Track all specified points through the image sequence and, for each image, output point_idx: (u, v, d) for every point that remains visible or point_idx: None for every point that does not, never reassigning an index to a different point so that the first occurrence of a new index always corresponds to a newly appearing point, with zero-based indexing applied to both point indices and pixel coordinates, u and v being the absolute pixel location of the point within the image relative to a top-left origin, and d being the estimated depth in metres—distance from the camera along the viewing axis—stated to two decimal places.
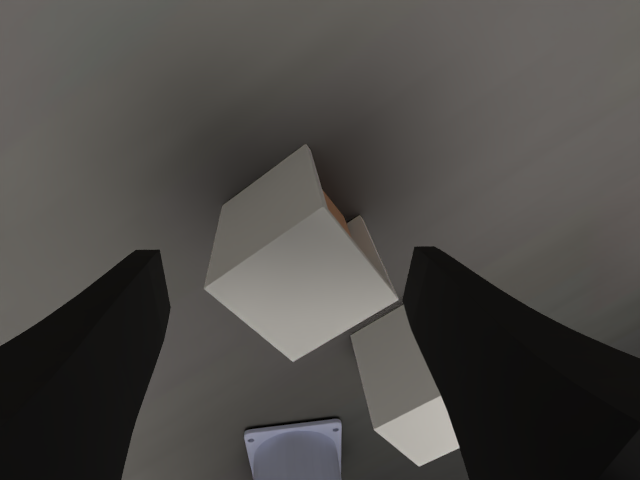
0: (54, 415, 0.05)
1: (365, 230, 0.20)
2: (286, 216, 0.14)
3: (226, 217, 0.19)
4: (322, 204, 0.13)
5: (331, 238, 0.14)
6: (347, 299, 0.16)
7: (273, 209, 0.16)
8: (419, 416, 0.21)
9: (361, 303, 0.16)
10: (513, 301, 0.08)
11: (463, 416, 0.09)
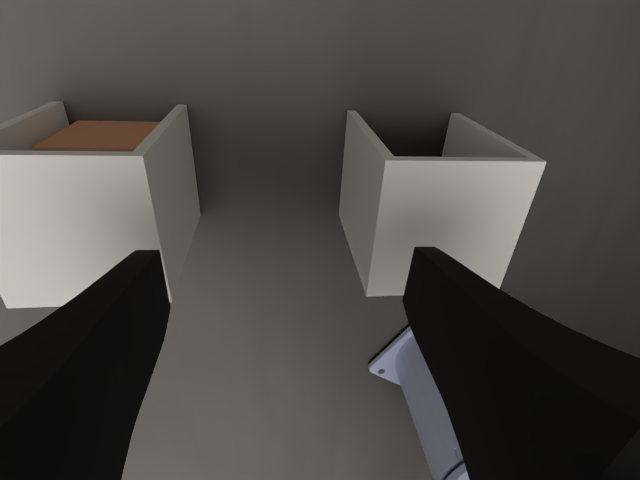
0: (54, 415, 0.05)
1: (169, 114, 0.16)
2: None
3: None
4: None
5: None
6: (104, 207, 0.12)
7: None
8: (396, 242, 0.14)
9: (121, 197, 0.12)
10: (513, 301, 0.08)
11: (463, 416, 0.09)
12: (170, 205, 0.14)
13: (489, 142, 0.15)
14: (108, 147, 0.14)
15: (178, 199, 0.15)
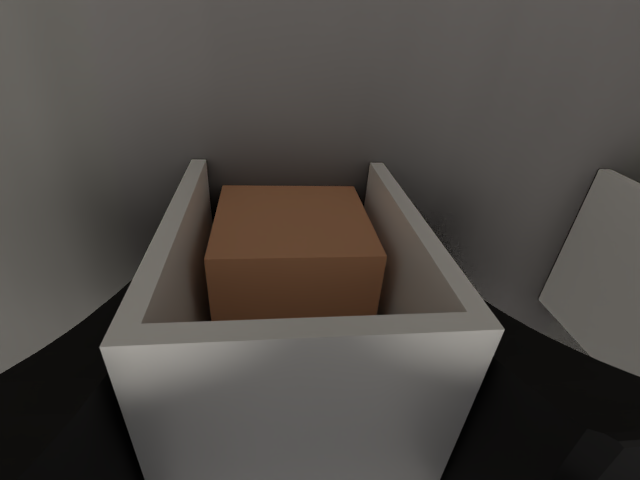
0: (108, 411, 0.05)
1: (384, 187, 0.10)
2: None
3: None
4: (108, 335, 0.05)
5: (204, 369, 0.05)
6: (391, 406, 0.06)
7: None
8: None
9: (428, 391, 0.06)
10: None
11: None
12: None
13: None
14: (324, 255, 0.08)
15: None
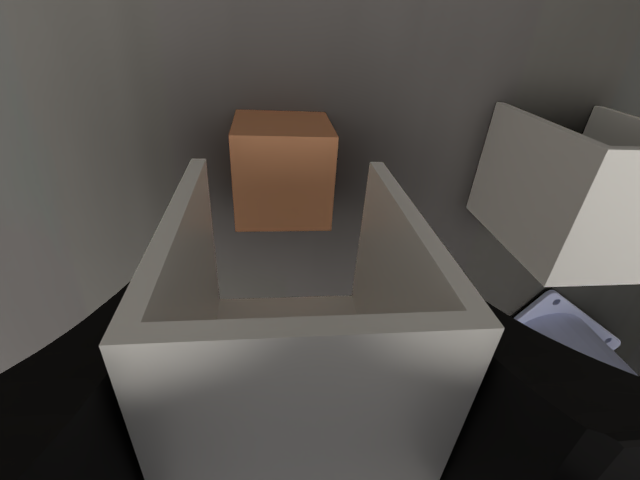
0: (108, 412, 0.05)
1: (384, 186, 0.10)
2: None
3: None
4: (107, 334, 0.05)
5: (204, 367, 0.05)
6: (391, 405, 0.06)
7: None
8: (590, 232, 0.14)
9: (428, 390, 0.06)
10: None
11: None
12: None
13: None
14: (300, 136, 0.14)
15: None
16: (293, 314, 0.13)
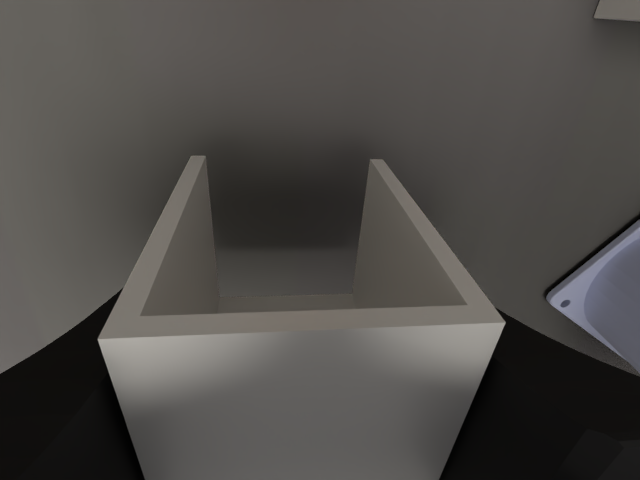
0: (108, 412, 0.05)
1: (384, 183, 0.10)
2: None
3: None
4: (106, 328, 0.05)
5: (203, 362, 0.05)
6: (391, 400, 0.06)
7: None
8: None
9: (429, 385, 0.06)
10: None
11: None
12: None
13: None
14: None
15: None
16: None
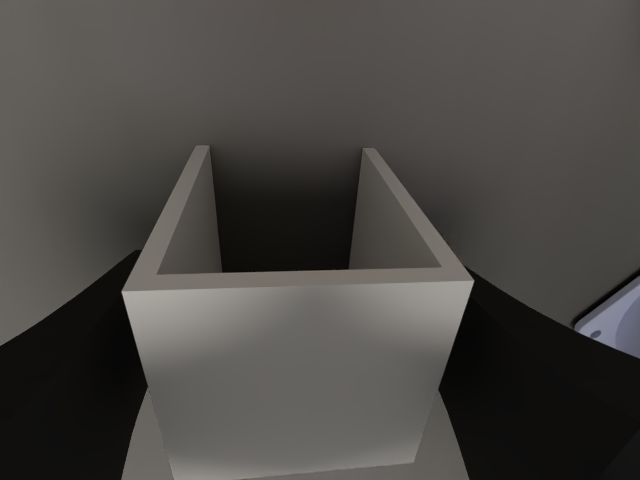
0: (54, 415, 0.05)
1: (375, 168, 0.11)
2: None
3: None
4: (128, 283, 0.06)
5: (211, 314, 0.06)
6: (376, 354, 0.07)
7: None
8: None
9: (409, 339, 0.07)
10: (513, 301, 0.08)
11: (463, 416, 0.09)
12: None
13: None
14: None
15: None
16: None
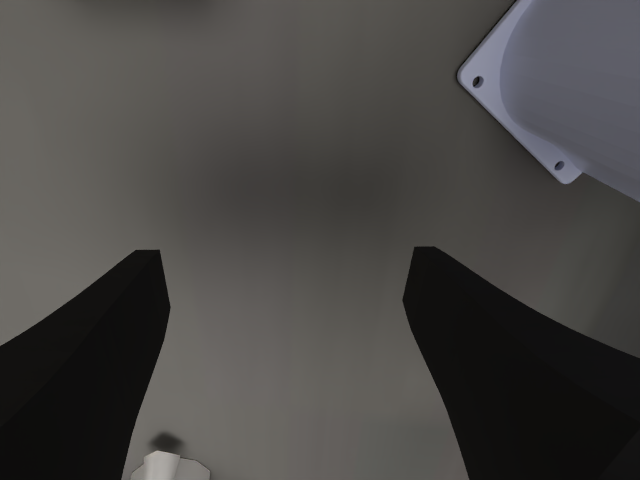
0: (54, 415, 0.05)
1: None
2: None
3: None
4: None
5: None
6: None
7: None
8: None
9: None
10: (513, 301, 0.08)
11: (463, 416, 0.09)
12: None
13: None
14: None
15: None
16: None
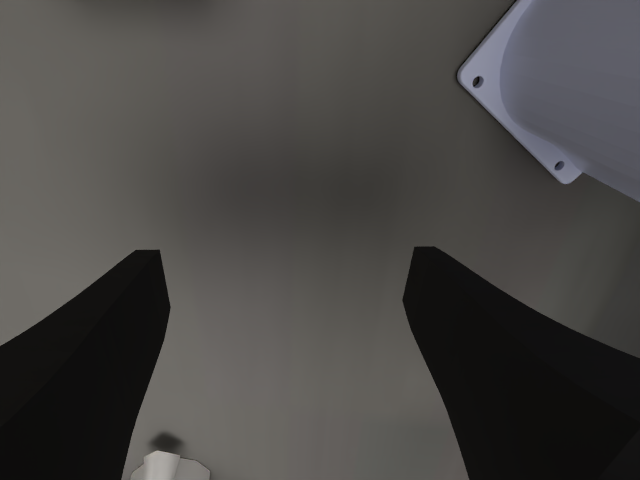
0: (54, 415, 0.05)
1: None
2: None
3: None
4: None
5: None
6: None
7: None
8: None
9: None
10: (513, 301, 0.08)
11: (463, 416, 0.09)
12: None
13: None
14: None
15: None
16: None
